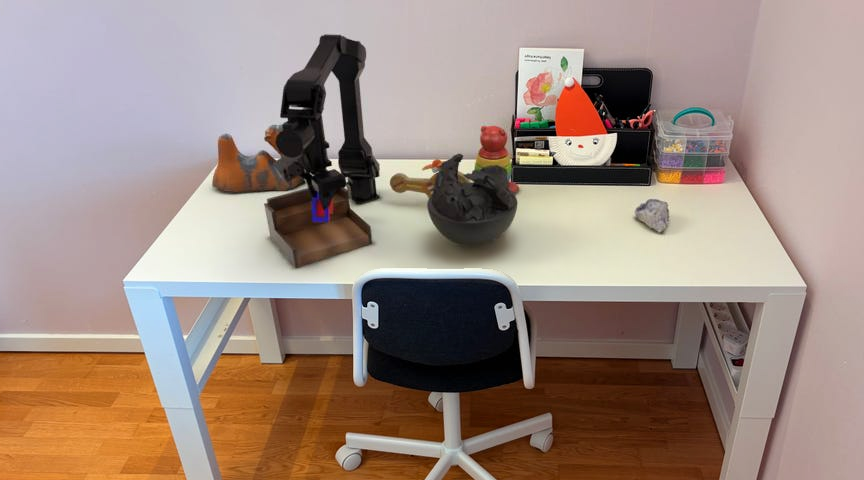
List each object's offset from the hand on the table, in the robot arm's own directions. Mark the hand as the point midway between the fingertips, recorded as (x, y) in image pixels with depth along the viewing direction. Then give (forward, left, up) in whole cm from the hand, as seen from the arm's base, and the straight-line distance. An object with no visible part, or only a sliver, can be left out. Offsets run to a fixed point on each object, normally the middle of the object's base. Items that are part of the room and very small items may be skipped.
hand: (321, 204), depth 160 cm
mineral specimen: (-68, +34, -11) cm, 77 cm away
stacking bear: (-47, -1, -11) cm, 48 cm away
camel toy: (+1, -41, -11) cm, 42 cm away
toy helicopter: (-30, -2, -11) cm, 32 cm away
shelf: (0, -3, -11) cm, 11 cm away
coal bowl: (-29, +17, -11) cm, 35 cm away
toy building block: (0, +1, -3) cm, 3 cm away
